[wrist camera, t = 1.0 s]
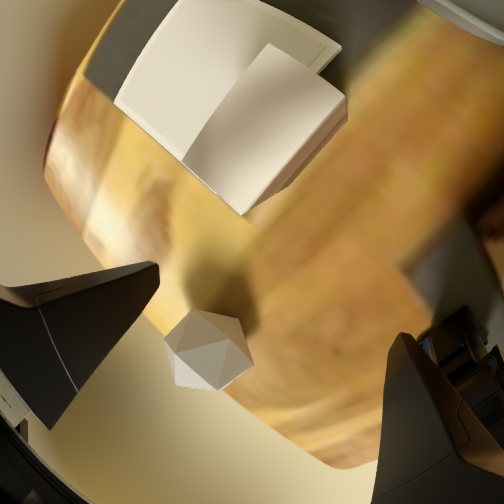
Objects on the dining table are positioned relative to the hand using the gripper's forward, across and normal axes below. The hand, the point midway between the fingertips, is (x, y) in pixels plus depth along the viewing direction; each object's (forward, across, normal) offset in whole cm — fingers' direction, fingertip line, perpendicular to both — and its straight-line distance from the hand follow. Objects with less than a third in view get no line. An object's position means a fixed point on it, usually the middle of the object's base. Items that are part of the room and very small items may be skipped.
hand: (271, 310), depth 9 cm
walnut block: (+14, +2, -5) cm, 15 cm away
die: (+14, +7, +15) cm, 22 cm away
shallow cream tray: (+14, +11, -11) cm, 21 cm away
